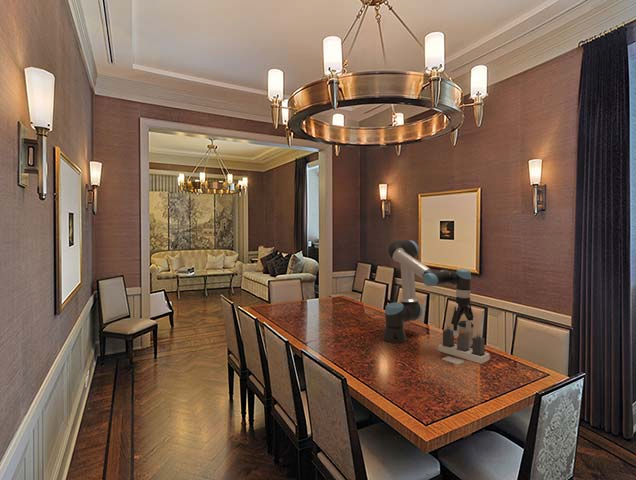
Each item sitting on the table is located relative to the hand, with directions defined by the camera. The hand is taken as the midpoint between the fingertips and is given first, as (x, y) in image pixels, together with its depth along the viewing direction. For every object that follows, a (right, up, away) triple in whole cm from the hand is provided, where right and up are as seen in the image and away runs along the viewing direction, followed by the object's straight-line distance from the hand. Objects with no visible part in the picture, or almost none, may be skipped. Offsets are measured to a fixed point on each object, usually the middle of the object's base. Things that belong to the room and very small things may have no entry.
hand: (462, 333), depth 200 cm
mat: (-8, -13, -7) cm, 17 cm away
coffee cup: (+9, -12, +18) cm, 23 cm away
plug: (0, -12, 0) cm, 12 cm away
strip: (0, -13, 0) cm, 13 cm away
